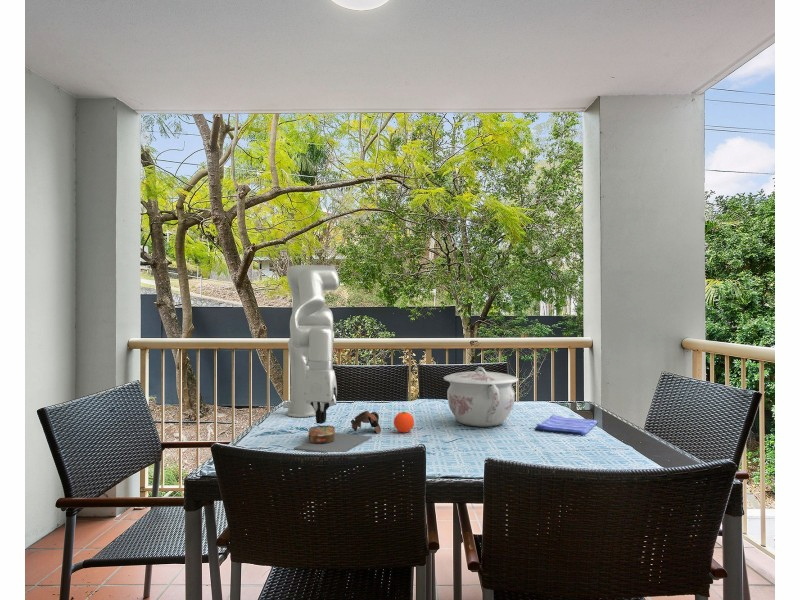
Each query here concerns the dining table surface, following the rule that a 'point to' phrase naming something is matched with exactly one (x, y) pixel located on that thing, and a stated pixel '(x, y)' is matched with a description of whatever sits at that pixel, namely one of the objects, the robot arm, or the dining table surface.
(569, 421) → the dish towel
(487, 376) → the chamber pot
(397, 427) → the clementine
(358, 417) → the pottery mug
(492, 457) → the dining table surface
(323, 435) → the tin
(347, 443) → the mat
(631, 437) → the dining table surface
